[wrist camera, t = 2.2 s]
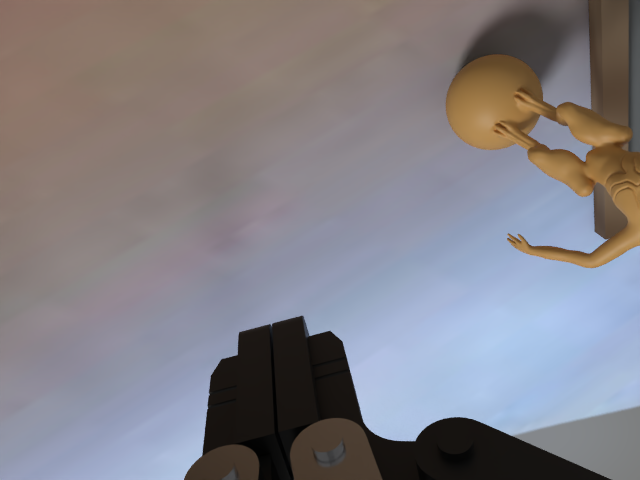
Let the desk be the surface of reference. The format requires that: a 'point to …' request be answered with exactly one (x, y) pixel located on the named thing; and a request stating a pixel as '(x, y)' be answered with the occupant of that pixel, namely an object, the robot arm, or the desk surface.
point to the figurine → (513, 128)
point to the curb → (609, 91)
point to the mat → (634, 75)
